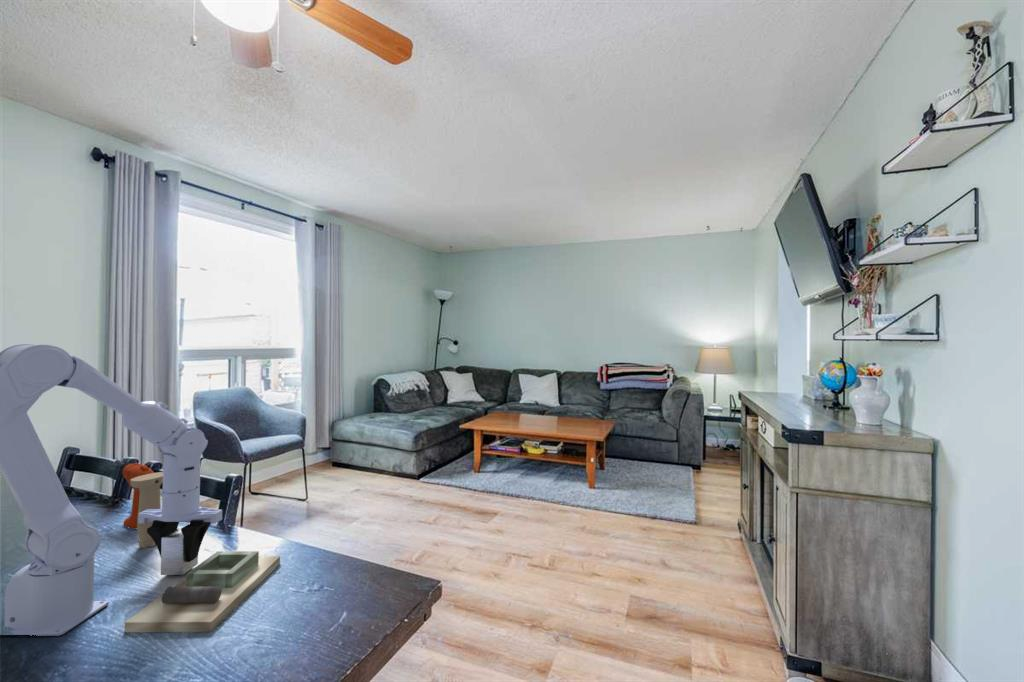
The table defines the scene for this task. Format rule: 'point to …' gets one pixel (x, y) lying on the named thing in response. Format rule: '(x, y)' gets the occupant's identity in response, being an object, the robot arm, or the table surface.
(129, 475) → the toy drill
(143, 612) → the block
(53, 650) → the table surface
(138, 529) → the handle
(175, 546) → the key peg
